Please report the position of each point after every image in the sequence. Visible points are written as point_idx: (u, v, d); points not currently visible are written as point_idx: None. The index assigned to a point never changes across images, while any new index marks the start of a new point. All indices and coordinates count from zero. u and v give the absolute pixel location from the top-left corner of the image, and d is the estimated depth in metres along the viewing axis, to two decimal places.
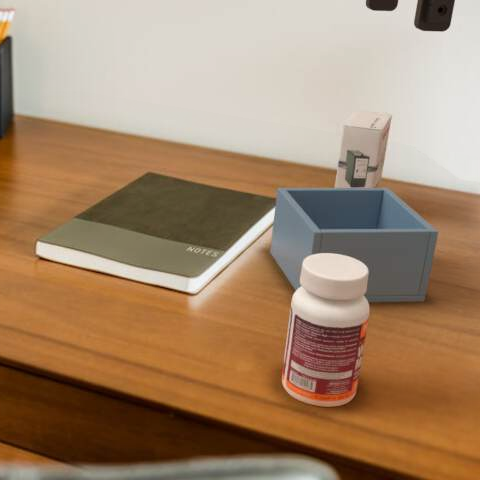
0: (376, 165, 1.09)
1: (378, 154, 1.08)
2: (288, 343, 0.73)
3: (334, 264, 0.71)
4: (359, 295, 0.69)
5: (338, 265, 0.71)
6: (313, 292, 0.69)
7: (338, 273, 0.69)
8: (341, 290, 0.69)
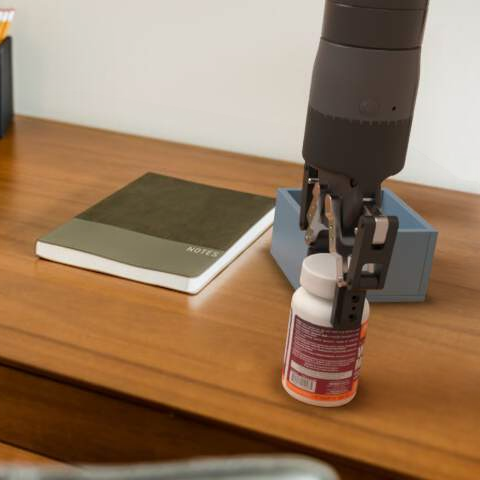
0: None
1: None
2: (288, 343, 0.73)
3: (334, 264, 0.71)
4: None
5: None
6: (313, 292, 0.69)
7: None
8: None
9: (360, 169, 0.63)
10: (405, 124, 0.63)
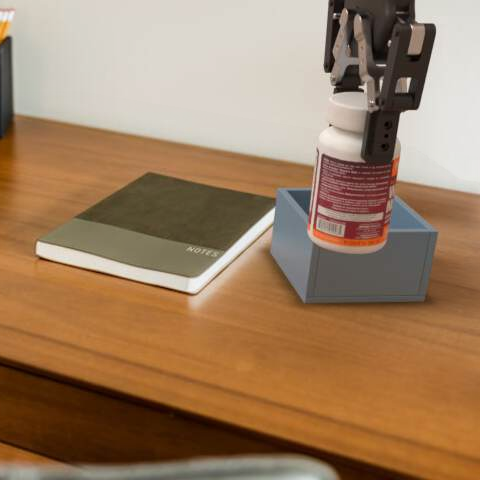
0: None
1: None
2: (314, 188, 0.69)
3: (363, 99, 0.67)
4: None
5: None
6: (341, 126, 0.65)
7: None
8: None
9: None
10: None
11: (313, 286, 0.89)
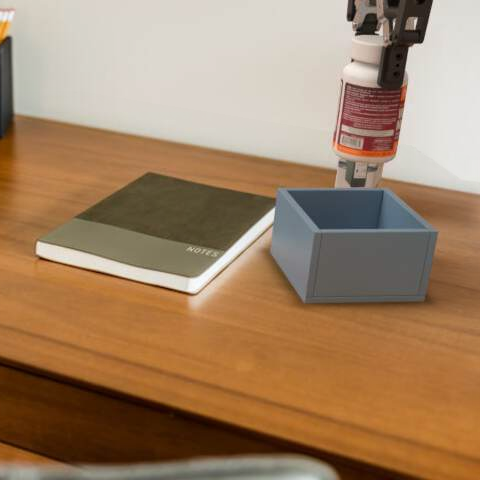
0: (376, 165, 1.09)
1: None
2: (339, 111, 0.86)
3: (378, 39, 0.84)
4: None
5: (382, 40, 0.84)
6: (362, 59, 0.83)
7: (382, 42, 0.83)
8: None
9: None
10: None
11: (313, 286, 0.89)
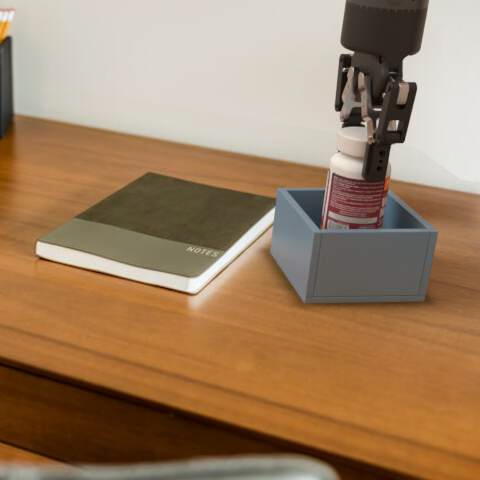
0: None
1: None
2: (326, 198, 0.92)
3: (363, 132, 0.90)
4: None
5: (366, 133, 0.90)
6: (347, 152, 0.89)
7: None
8: None
9: (387, 48, 0.83)
10: (422, 13, 0.82)
11: (313, 286, 0.89)
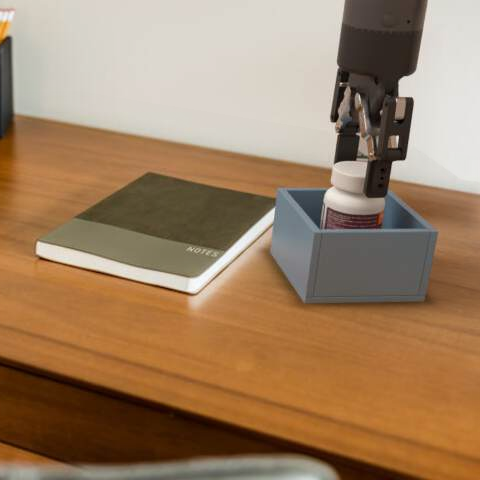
0: None
1: None
2: None
3: (357, 167, 0.91)
4: None
5: (360, 168, 0.91)
6: (341, 188, 0.90)
7: (361, 172, 0.90)
8: (363, 185, 0.89)
9: (383, 70, 0.83)
10: (417, 35, 0.83)
11: (313, 286, 0.89)
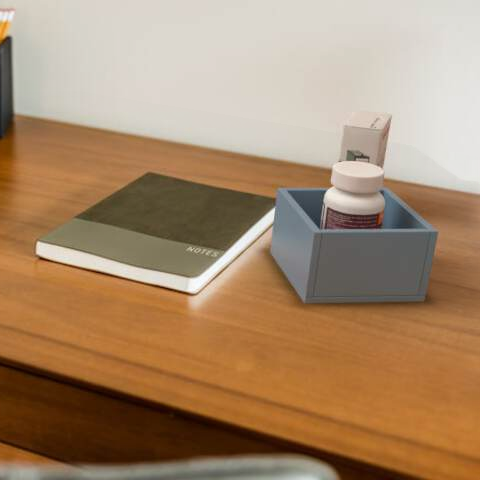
0: (376, 165, 1.09)
1: (378, 154, 1.08)
2: None
3: (357, 167, 0.91)
4: (377, 190, 0.90)
5: (360, 168, 0.91)
6: (341, 188, 0.90)
7: (361, 172, 0.90)
8: (363, 185, 0.89)
9: None
10: None
11: (313, 286, 0.89)
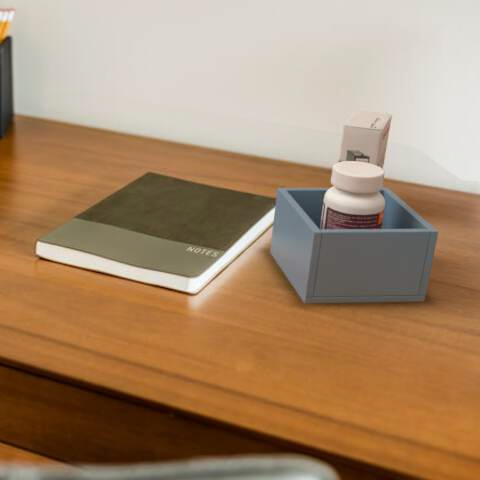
0: (376, 165, 1.09)
1: (378, 154, 1.08)
2: None
3: (357, 167, 0.91)
4: (377, 190, 0.90)
5: (360, 168, 0.91)
6: (341, 188, 0.90)
7: (361, 172, 0.90)
8: (363, 185, 0.89)
9: None
10: None
11: (313, 286, 0.89)
